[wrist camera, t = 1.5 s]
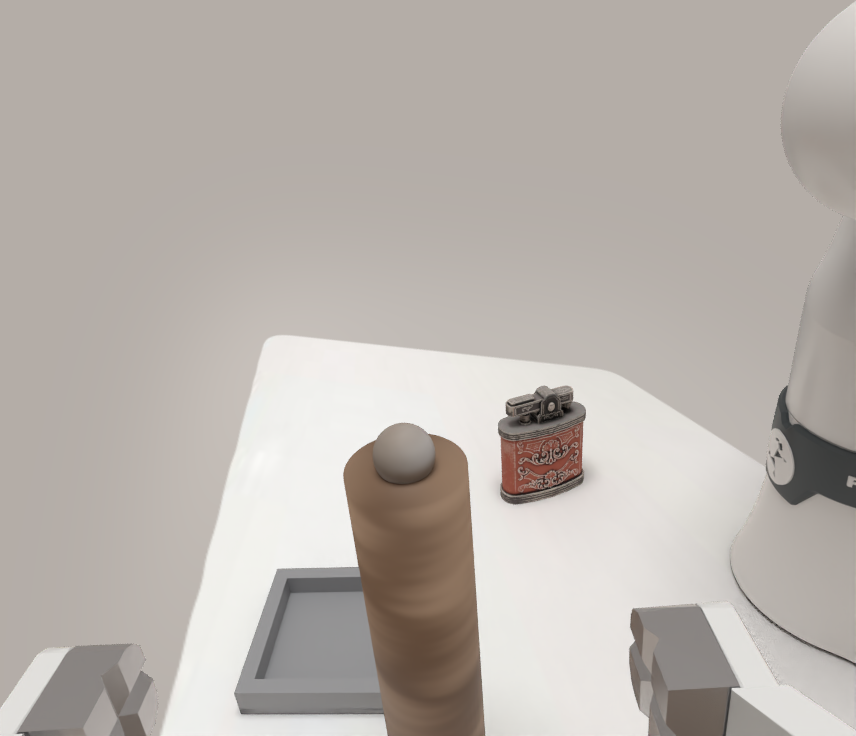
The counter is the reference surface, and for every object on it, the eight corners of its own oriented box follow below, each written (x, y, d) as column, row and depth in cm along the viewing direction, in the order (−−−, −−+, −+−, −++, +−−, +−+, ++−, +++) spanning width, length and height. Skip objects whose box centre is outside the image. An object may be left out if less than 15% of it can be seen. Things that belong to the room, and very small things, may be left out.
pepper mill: (495, 759, 38) (475, 387, 27) (499, 869, 33) (477, 470, 22) (399, 759, 39) (339, 393, 27) (389, 867, 34) (311, 476, 22)
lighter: (571, 464, 63) (573, 371, 58) (590, 484, 60) (594, 388, 55) (494, 488, 60) (490, 393, 56) (510, 509, 58) (508, 412, 53)
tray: (416, 585, 51) (414, 565, 50) (405, 713, 41) (402, 692, 40) (282, 587, 52) (277, 568, 51) (241, 713, 42) (234, 693, 41)
